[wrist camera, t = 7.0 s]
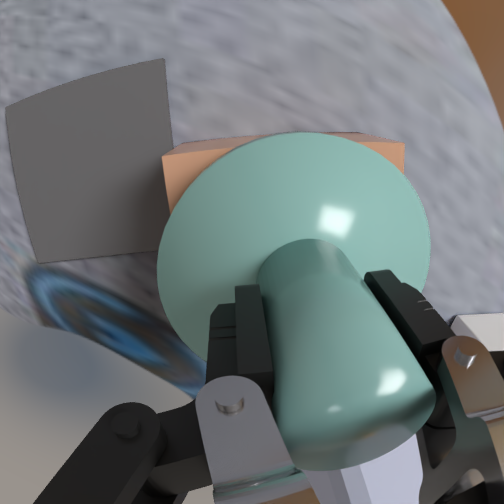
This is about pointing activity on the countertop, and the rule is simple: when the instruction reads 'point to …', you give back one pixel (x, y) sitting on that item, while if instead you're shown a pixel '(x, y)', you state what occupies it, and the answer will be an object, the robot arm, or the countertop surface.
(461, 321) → the milk carton
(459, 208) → the countertop surface
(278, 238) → the lid
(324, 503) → the soap bottle
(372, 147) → the dish
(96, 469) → the robot arm
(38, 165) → the mat
